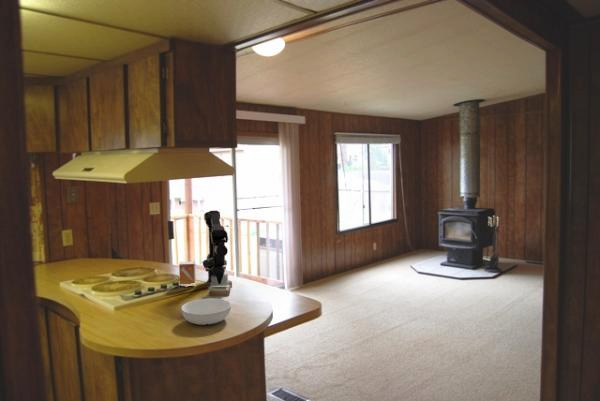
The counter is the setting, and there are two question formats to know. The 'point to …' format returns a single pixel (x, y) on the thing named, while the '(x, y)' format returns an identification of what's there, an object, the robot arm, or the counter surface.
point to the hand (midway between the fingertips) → (219, 282)
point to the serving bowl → (206, 311)
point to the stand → (219, 290)
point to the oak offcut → (230, 283)
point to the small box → (187, 272)
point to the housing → (223, 282)
